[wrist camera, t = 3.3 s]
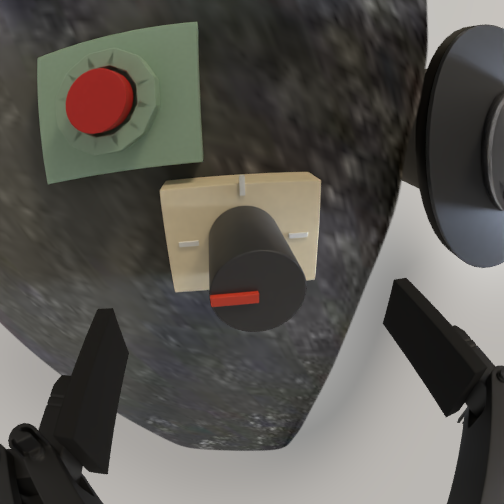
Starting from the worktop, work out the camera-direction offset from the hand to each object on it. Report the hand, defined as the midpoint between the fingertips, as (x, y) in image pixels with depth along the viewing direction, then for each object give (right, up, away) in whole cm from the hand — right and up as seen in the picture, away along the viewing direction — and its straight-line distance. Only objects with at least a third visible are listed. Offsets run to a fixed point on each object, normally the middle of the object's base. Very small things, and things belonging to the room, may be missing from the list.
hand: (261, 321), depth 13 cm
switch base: (-10, +14, +5) cm, 18 cm away
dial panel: (-1, +5, +11) cm, 12 cm away
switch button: (-10, +12, +2) cm, 16 cm away
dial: (-1, +4, +8) cm, 9 cm away
